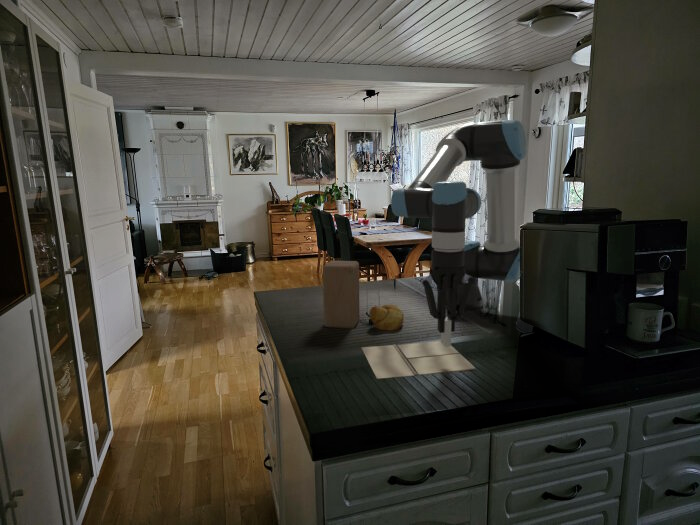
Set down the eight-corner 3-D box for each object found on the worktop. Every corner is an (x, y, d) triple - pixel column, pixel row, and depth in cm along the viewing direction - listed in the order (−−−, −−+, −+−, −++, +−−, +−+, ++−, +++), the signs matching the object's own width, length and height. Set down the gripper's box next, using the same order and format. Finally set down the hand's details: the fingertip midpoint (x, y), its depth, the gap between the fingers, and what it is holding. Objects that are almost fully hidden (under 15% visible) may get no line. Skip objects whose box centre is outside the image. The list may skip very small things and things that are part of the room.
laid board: (395, 349, 118) (395, 344, 118) (417, 379, 100) (417, 374, 100) (361, 351, 117) (361, 346, 117) (377, 383, 98) (377, 377, 98)
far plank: (445, 344, 120) (445, 340, 120) (459, 357, 112) (459, 352, 111) (397, 349, 118) (397, 345, 118) (406, 362, 110) (406, 358, 109)
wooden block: (354, 329, 134) (353, 266, 131) (323, 327, 136) (321, 265, 133) (360, 319, 144) (359, 260, 140) (330, 318, 146) (329, 259, 142)
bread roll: (381, 319, 144) (382, 296, 142) (410, 323, 140) (410, 299, 138) (367, 332, 132) (367, 306, 131) (397, 336, 128) (397, 310, 127)
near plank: (460, 358, 111) (460, 353, 111) (475, 373, 102) (475, 368, 102) (407, 363, 109) (407, 359, 109) (419, 379, 100) (418, 374, 100)
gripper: (467, 245, 105) (464, 336, 110) (416, 247, 103) (415, 340, 108) (481, 250, 98) (477, 347, 103) (426, 253, 96) (425, 352, 100)
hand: (445, 344), depth 105 cm, fingers closed
